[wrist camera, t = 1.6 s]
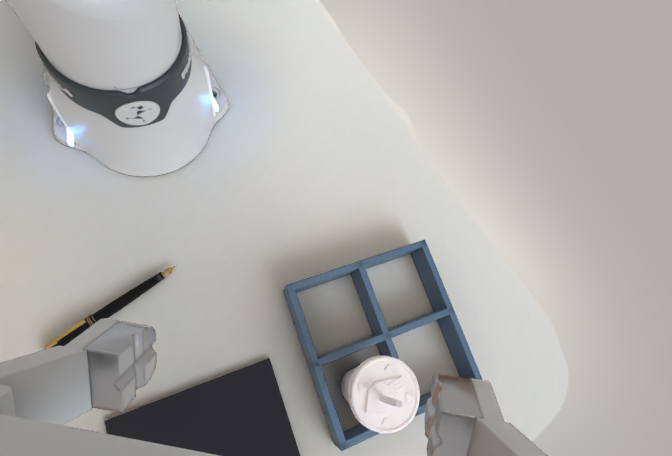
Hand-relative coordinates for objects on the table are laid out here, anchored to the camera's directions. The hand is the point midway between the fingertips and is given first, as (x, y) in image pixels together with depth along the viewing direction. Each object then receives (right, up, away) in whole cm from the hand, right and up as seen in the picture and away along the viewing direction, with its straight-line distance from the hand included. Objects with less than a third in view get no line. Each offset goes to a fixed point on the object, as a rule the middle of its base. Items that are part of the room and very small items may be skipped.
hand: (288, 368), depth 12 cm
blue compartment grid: (+6, -8, +36) cm, 37 cm away
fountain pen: (-21, -4, +31) cm, 38 cm away
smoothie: (+4, -13, +34) cm, 36 cm away
